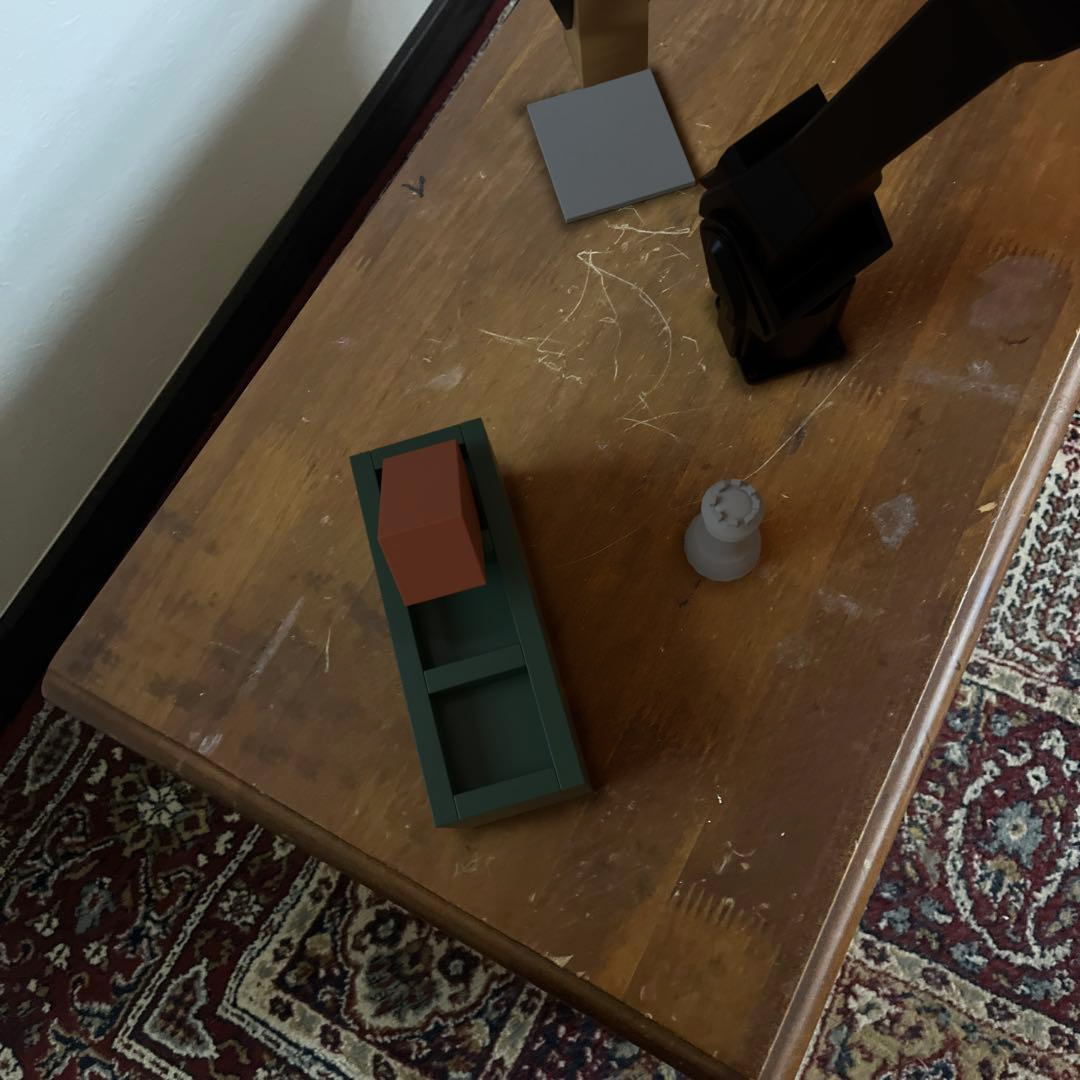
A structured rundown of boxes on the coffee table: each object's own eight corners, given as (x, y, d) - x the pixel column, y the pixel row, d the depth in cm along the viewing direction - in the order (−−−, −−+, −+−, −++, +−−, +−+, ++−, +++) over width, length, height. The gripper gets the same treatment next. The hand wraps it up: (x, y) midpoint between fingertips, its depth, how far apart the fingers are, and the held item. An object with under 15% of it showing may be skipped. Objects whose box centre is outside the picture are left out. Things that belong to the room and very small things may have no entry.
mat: (649, 72, 67) (650, 67, 67) (695, 185, 64) (695, 180, 64) (527, 109, 67) (526, 104, 67) (566, 224, 64) (566, 219, 64)
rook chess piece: (768, 523, 57) (789, 474, 49) (748, 593, 55) (766, 554, 48) (695, 502, 57) (704, 451, 50) (673, 571, 56) (679, 529, 49)
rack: (502, 474, 59) (480, 416, 51) (593, 792, 53) (585, 783, 45) (387, 508, 59) (348, 456, 51) (465, 829, 53) (434, 828, 45)
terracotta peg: (456, 438, 50) (462, 514, 43) (478, 502, 52) (487, 584, 45) (382, 458, 50) (376, 538, 43) (407, 522, 52) (405, 607, 45)
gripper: (745, -487, 41) (716, -135, 56) (331, -359, 41) (412, -43, 56) (840, -325, 38) (783, 4, 52) (388, -186, 38) (458, 103, 53)
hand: (604, 12), depth 54 cm, fingers closed on maple peg, 4 cm apart
